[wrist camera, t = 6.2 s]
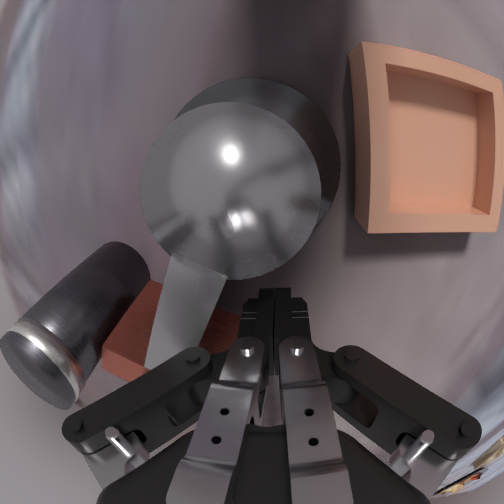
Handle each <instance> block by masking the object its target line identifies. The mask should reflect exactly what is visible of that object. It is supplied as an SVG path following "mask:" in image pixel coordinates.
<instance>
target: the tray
mask: <svg viewBox="0 0 504 504" xmlns="http://www.w3.org/2000/svg"><path fill="white" fill-rule="evenodd" d="M348 57H349V65H350V74H351V84H352V96H353V110H354V128H355V214H354V217H355V219H356V220H357V221H358V222H359V223H360V225H361V226H362V227H363V228H364V229H365V231H366V232H367V233H420V232H497V227H498V222H499V216H500V209H501V202H502V194H503V185H504V98H503V89H502V82H501V80H498V79H496V78H494V77H492V76H489V75H487V74H485V73H482V72H480V71H478V70H475V69H472V68H470V67H467V66H464V65H462V64H459V63H456V62H453V61H450V60H447V59H444V58H440V57H437V56H433V55H430V54H426V53H422V52H418V51H414V50H410V49H406V48H401V47H396V46H391V45H385V44H379V43H373V42H365V41H361V42H360V43H359V44H358V45H357V46H356V47H355V48H354V49H353V50H352V51H351V52H350V53H349V54H348Z"/></svg>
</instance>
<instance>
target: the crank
mask: <svg viewBox="0 0 504 504" xmlns="http://www.w3.org/2000/svg"><path fill="white" fill-rule="evenodd" d="M140 199H141V205H142V210H143V213H144V217H145V220H146V222H147V224H148V227H149V229H150V231H151V232H152V234H153V236H154V237H155V239H156V240H157V242H158V243H159V244H160V245H161V247H162V248H163V249H164V250H165V251H166V252H167V253H168V254H169V255H170V256H171V258H170V262H169V265H168V269H167V273H166V276H165V280H164V284H163V285H162V284H160V283H157V282H155V281H153V280H151V279H150V280H149V282H148V283H147V284H146V286H145V287H144V288H143V290H142V291H141V292H140V294H139V295H138V296H137V298H136V299H135V300H134V302H133V303H132V305H131V306H130V307H129V309H128V310H127V311H126V313H125V314H124V316H123V317H122V318H121V320H120V321H119V323H118V324H117V325H116V327H115V328H114V330H113V331H112V332H111V334H110V335H109V337H108V338H107V340H106V341H105V343H104V344H103V346H102V368H103V369H105V370H107V371H108V372H110V373H112V374H114V375H116V376H118V377H120V378H122V379H124V380H127V381H129V382H131V381H133V380H135V379H136V378H138V377H140V376H141V375H143V374H145V373H146V372H148V371H150V370H152V369H153V368H155V367H157V366H158V365H160V364H161V363H163V362H165V361H166V360H168V359H170V358H171V357H173V356H175V355H176V354H178V353H179V352H181V351H183V350H185V349H187V348H190V347H201V348H204V349H206V350H207V351H208V352H209V354H210V355H211V354H216V353H221V352H224V351H227V350H228V349H229V348H230V346H231V344H232V343H233V342H234V341H235V340H237V335H238V330H239V325H240V320H241V317H240V316H237V315H235V314H232V313H230V312H227V311H224V310H222V309H219V308H217V307H215V305H216V303H217V301H218V298H219V296H220V294H221V291H222V289H223V287H224V284H225V282H226V280H240V279H248V278H253V277H257V276H261V275H263V274H266V273H268V272H271V271H273V270H275V269H277V268H278V267H280V266H282V265H283V264H285V263H286V262H287V261H289V260H290V259H291V258H292V257H293V256H294V255H295V254H296V253H298V252H299V250H300V249H301V248H302V247H303V245H304V244H305V243H306V241H307V240H308V238H309V236H310V235H311V233H312V231H313V229H314V226H315V224H316V221H317V218H318V214H319V211H320V204H321V183H320V176H319V172H318V168H317V165H316V162H315V160H314V157H313V155H312V153H311V151H310V149H309V148H308V146H307V144H306V143H305V141H304V140H303V139H302V137H301V136H300V135H299V134H298V133H297V131H296V130H295V129H294V128H292V127H291V126H290V125H289V124H288V123H287V122H286V121H284V120H283V119H281V118H280V117H278V116H277V115H275V114H273V113H271V112H269V111H267V110H265V109H263V108H260V107H257V106H253V105H250V104H245V103H238V102H219V103H211V104H207V105H204V106H200V107H197V108H195V109H192V110H190V111H188V112H186V113H184V114H183V115H181V116H179V117H178V118H176V119H175V120H174V121H172V122H171V123H170V124H169V125H167V127H166V128H165V129H164V130H163V131H162V132H161V133H160V134H159V135H158V137H157V138H156V139H155V141H154V142H153V144H152V146H151V147H150V149H149V151H148V153H147V156H146V158H145V161H144V164H143V168H142V172H141V179H140Z"/></svg>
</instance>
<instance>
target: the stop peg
mask: <svg viewBox="0 0 504 504" xmlns="http://www.w3.org/2000/svg"><path fill="white" fill-rule="evenodd" d="M149 280H150V274H149V270H148V267H147V265H146V263H145V261H144V259H143V258H142V257H141V255H140V254H139V253H138V252H137V251H136V250H134V249H133V248H132V247H130V246H128V245H126V244H124V243H121V242H109V243H106V244H104V245H103V246H102V247H100V248H99V249H98V250H97V251H95V252H94V253H93V254H92V255H90V256H89V257H88V258H87V259H86V260H84V261H83V262H82V263H81V264H80V265H78V266H77V267H76V268H75V269H74V270H72V271H71V272H70V273H69V274H68V275H67V276H65V277H64V278H63V279H62V280H61V281H60V282H59V283H57V284H56V285H55V286H54V287H53V288H52V289H51V290H50V291H49V292H47V293H46V294H45V295H44V296H43V297H42V298H41V299H40V300H39V301H38V302H37V303H36V304H35V305H34V306H33V307H31V308H30V309H29V310H28V311H27V312H26V313H25V314H24V315H23V316H22V317H21V318H19V319H18V320H17V321H16V322H15V323H14V324H13V325H12V326H11V327H10V328H9V329H8V330H7V331H6V332H5V335H4V336H3V337H2V338H1V339H0V348H1V351H2V353H3V356H4V358H5V359H6V361H7V363H8V364H9V366H10V367H11V369H12V370H13V371H14V373H15V374H16V375H17V376H18V377H19V379H20V380H21V381H22V382H23V383H24V384H25V385H26V386H27V387H28V388H29V389H30V390H31V391H33V392H34V393H35V394H36V395H37V396H39V397H40V398H42V399H43V400H44V401H46V402H47V403H49V404H51V405H53V406H55V407H57V408H60V409H64V410H68V409H70V408H71V406H72V404H73V403H74V402H75V401H76V400H77V398H78V396H79V395H80V393H81V391H82V390H83V388H84V386H85V384H86V381H87V380H88V378H89V376H90V375H91V373H92V372H93V370H94V368H95V367H96V365H97V364H98V362H99V361H100V359H101V357H102V346H103V344H104V343H105V341H106V340H107V338H108V337H109V335H110V334H111V332H112V331H113V330H114V328H115V327H116V325H117V324H118V323H119V321H120V320H121V318H122V317H123V316H124V314H125V313H126V311H127V310H128V309H129V307H130V306H131V305H132V303H133V302H134V300H135V299H136V298H137V296H138V295H139V294H140V292H141V291H142V290H143V288H144V287H145V286H146V284H147V283H148V282H149Z"/></svg>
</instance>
